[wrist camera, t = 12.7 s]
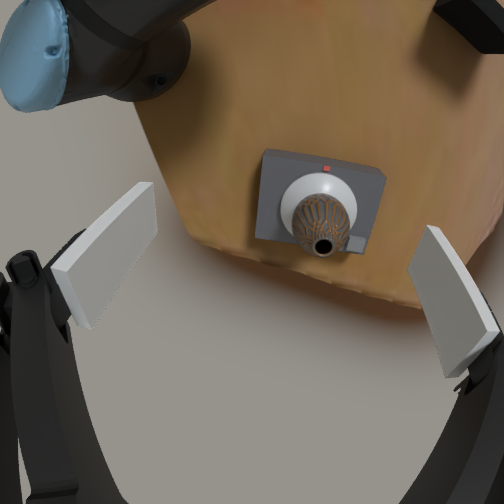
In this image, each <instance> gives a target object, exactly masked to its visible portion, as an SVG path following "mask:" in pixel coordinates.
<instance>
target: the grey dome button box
mask: <svg viewBox="0 0 504 504" xmlns="http://www.w3.org/2000/svg"><path fill="white" fill-rule="evenodd" d="M385 181H386V177H385V175H384V174H383V173H382V172H381V171H380V170H379V169H378V168H373V167H369V166H365V165H360V164H355V163H351V162H346V161H341V160H336V159H330V158H325V157H319V156H314V155H308V154H301V153H295V152H288V151H281V150H274V149H266V150H265V152H264V154H263V160H262V170H261V180H260V190H259V200H258V210H257V220H256V230H255V238H259V239H266V240H272V241H279V242H285V243H292V244H298V243H297V242H296V240H295V238H294V235H293V232H292V225H291V222H292V216H293V212H294V210H295V208H296V206H297V205H298V203H299V202H300V201H301V200H302V199H304V198H305V197H307V196H309V195H311V194H315V193H324V194H328V195H331V196H333V197H335V198H336V199H338V200H339V201H340V202H341V203H342V204H343V205H344V207H345V209H346V211H347V213H348V216H349V220H350V231H349V235H348V238H347V240H346V242H345V244H344V245H343V247H342V248H341V249H340V250H338V251H342V252H348V253H355V254H361V255H363V254H364V251H365V248H366V245H367V242H368V239H369V236H370V233H371V230H372V227H373V224H374V220H375V217H376V214H377V210H378V207H379V203H380V200H381V196H382V193H383V189H384V185H385Z"/></svg>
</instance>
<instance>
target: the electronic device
mask: <svg viewBox="0 0 504 504" xmlns="http://www.w3.org/2000/svg"><path fill="white" fill-rule="evenodd" d="M434 11H435V12H436V13H437V14H438V15H439V16H441V17H442V18H443V19H444V20H445V21H447V22H448V23H449V24H450V25H451V26H453V27H454V28H455V29H456V30H457V31H458V32H459V33H460V34H461V35H463V36H464V37H465V38H466V39H467V40H468V41H469V42H470V43H471V44H472V45H473V46H474V47H475V48H476V49H477V50H478V51H479V52H481V53H483V54H504V8H503V7H502V6H501V5H500V4H499V3H498V2H497V1H496V0H438V1H437V3H436V5H435V7H434Z"/></svg>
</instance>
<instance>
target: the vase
mask: <svg viewBox="0 0 504 504" xmlns="http://www.w3.org/2000/svg"><path fill="white" fill-rule="evenodd" d="M291 225H292V232H293V235H294V238H295V240H296V242H297V243H298V245H299V246H300V247H301V248H302V249H303V250H304V251H306V252H307V253H309V254H312V255H315V256H319V257H327V256H330V255H331V254H333V253H335V252H337V251H338V250H340V249H341V248H342V247H343V245H344V244H345V242H346V240H347V238H348V235H349V231H350V220H349V216H348V213H347V211H346V209H345V207H344V205H343V204H342V203H341V202H340V201H339V200H338V199H336V198H335V197H333V196H331V195H328V194H324V193H315V194H311V195H309V196H307V197H305V198H304V199H302V200H301V201H300V202H299V203H298V205H297V206H296V208H295V210H294V212H293V216H292V222H291Z"/></svg>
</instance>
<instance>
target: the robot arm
mask: <svg viewBox="0 0 504 504" xmlns="http://www.w3.org/2000/svg"><path fill="white" fill-rule="evenodd" d="M214 1H216V0H25V1H23V2H22V3H21V4H20V5H19V7H18V8H17V9H16V10H15V11H14V13H13V14H12V16H11V17H10V19H9V21H8V23H7V25H6V27H5V30H4V32H3V35H2V39H1V42H0V88H1V91H2V93H3V96H4V98H5V99H6V101H7V102H8V104H9V105H11V107H13V108H14V109H15V110H17V111H22V112H25V113H27V112H34V111H41V110H50V109H53V108H54V107H55V106H59V105H63V104H66V103H70V102H74V101H78V100H83V99H87V98H92V97H97V96H101V95H107V96H109V97H112V98H115V99H117V100H121V101H127V102H136V101H142V100H148V99H151V98H154V97H156V96H158V95H160V94H162V93H164V92H165V91H167V90H168V89H169V88H170V87H171V86H172V85H173V84H174V83H175V82H176V81H177V80H178V79H179V77H180V76H181V75H182V73H183V71H184V69H185V67H186V65H187V62H188V59H189V56H190V49H191V41H190V35H189V32H188V29H187V27H186V25H185V24H184V22H183V21H182V20H183V19H185V18H186V17H188V16H190V15H191V14H193V13H195V12H196V11H198V10H200V9H202V8H203V7H205V6H207V5H209V4H211V3H213V2H214ZM157 233H158V228H157V218H156V208H155V196H154V183H153V182H138V183H137V184H136V185H135V186H134V187H132V188H131V189H130V190H129V191H128V192H127V193H125V194H124V195H123V196H122V197H121V198H120V199H119V200H117V201H116V202H115V203H114V204H113V205H112V206H111V207H110V208H109V209H107V210H106V211H105V212H104V213H103V214H102V215H101V216H100V217H99V218H98V219H97V220H96V221H95V222H94V223H93V224H92V225H91V226H89V228H87V229H84V230H83V231H80V232H79V233H77V234H75V235H74V236H73V237H72V238H71V239H70V241H68V244H65V246H63V247H62V250H60V251H59V252H58V253H57V254H56V255H55V256H54V257H53V258H52V259H51V260H50V261H49V263H48V264H47V265H46V266H45V267H44V268H43V269H42V267H41V264H40V262H39V259H38V256H37V254H36V253H35V252H34V251H32V250H26V251H22V252H20V253H18V254H16V255H15V256H13V257H12V258H11V259H10V260H9V262H8V263H7V265H6V270H7V272H8V274H9V276H10V278H11V280H12V282H7V281H6V279H5V277H4V275H3V273H1V272H0V326H1V332H0V504H23V502H22V493H21V485H20V475H19V463H18V462H19V461H18V438H19V443H20V448H21V453H22V457H23V460H24V465H25V469H26V472H27V476H28V479H29V482H30V486H31V494H30V496H29V497H28V498H27V499H26V504H128V503H127V502H126V501H125V500H124V499H123V497H122V496H121V494H120V492H119V490H118V488H117V486H116V484H115V482H114V479H113V478H112V475H111V473H110V470H109V468H108V466H107V463H106V461H105V458H104V456H103V453H102V451H101V448H100V445H99V443H98V440H97V437H96V435H95V431H94V428H93V426H92V422H91V419H90V416H89V413H88V409H87V406H86V402H85V399H84V395H83V391H82V387H81V383H80V379H79V374H78V370H77V365H76V360H75V355H74V350H73V344H72V338H71V332H70V326H69V324H68V322H67V320H68V318H69V317H70V316H71V315H72V316H73V319H74V320H75V322H76V324H77V325H78V326H81V327H84V328H87V329H90V330H93V328H94V327H95V325H96V323H97V322H98V320H99V318H100V317H101V315H102V314H103V312H104V310H105V309H106V307H107V306H108V304H109V302H110V301H111V299H112V298H113V296H114V295H115V293H116V292H117V290H118V289H119V287H120V285H121V284H122V282H123V281H124V280H125V278H126V277H127V275H128V274H129V272H130V271H131V269H132V268H133V266H134V265H135V263H136V262H137V260H138V259H139V258H140V256H141V255H142V253H143V252H144V251H145V249H146V248H147V246H148V245H149V244H150V242H151V241H152V239H153V238H154V236H155V235H156V234H157ZM407 270H408V273H409V275H410V277H411V280H412V282H413V285H414V287H415V290H416V292H417V295H418V297H419V300H420V302H421V305H422V308H423V310H424V313H425V315H426V318H427V321H428V324H429V327H430V330H431V333H432V336H433V339H434V342H435V345H436V348H437V351H438V355H439V358H440V362H441V365H442V369H443V372H444V376H445V378H453V377H459V376H460V375H461V374H462V373H463V372H464V371H465V370H466V369H467V368H468V371H469V375H468V376H467V377H466V378H465V379H464V380H463V381H462V382H461V383H460V384H459V385H457V386H456V387H455V389H454V390H453V391H454V392H455V391H457V390H458V389H459V388H461V390H460V392H459V393H458V394H459V395H458V398H457V400H456V403H455V405H454V408H453V410H452V412H451V415H450V417H449V419H448V421H447V423H446V425H445V428H444V430H443V432H442V434H441V436H440V438H439V440H438V442H437V443H436V445H435V447H434V449H433V451H432V453H431V454H430V456H429V458H428V460H427V462H426V463H425V465H424V467H423V468H422V470H421V471H420V473H419V475H418V476H417V478H416V480H415V481H414V482H413V484H412V486H411V487H410V489H409V490H408V491H407V493H406V494H405V496H404V497H403V499H402V500H401V501H400V503H399V504H504V335H503V333H502V330H501V328H500V326H499V324H498V322H497V320H496V318H495V316H494V314H493V312H491V311H492V310H491V308H490V306H489V305H488V302H487V300H486V299H485V297H484V295H483V294H482V293H481V291H480V290H479V289H478V288H477V286H476V284H475V282H474V281H473V279H472V278H471V276H470V274H469V273H468V271H467V269H466V268H465V266H464V264H463V263H462V261H461V260H460V258H459V257H458V255H457V253H456V252H455V250H454V249H453V248H452V246H451V245H450V243H449V242H448V240H447V239H446V237H445V236H444V235H443V233H442V232H441V230H440V229H439V228H438V227H434V226H430V225H426V228H425V230H424V232H423V235H422V237H421V240H420V242H419V244H418V246H417V249H416V251H415V253H414V255H413V258H412V260H411V262H410V264H409V266H408V268H407Z"/></svg>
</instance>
